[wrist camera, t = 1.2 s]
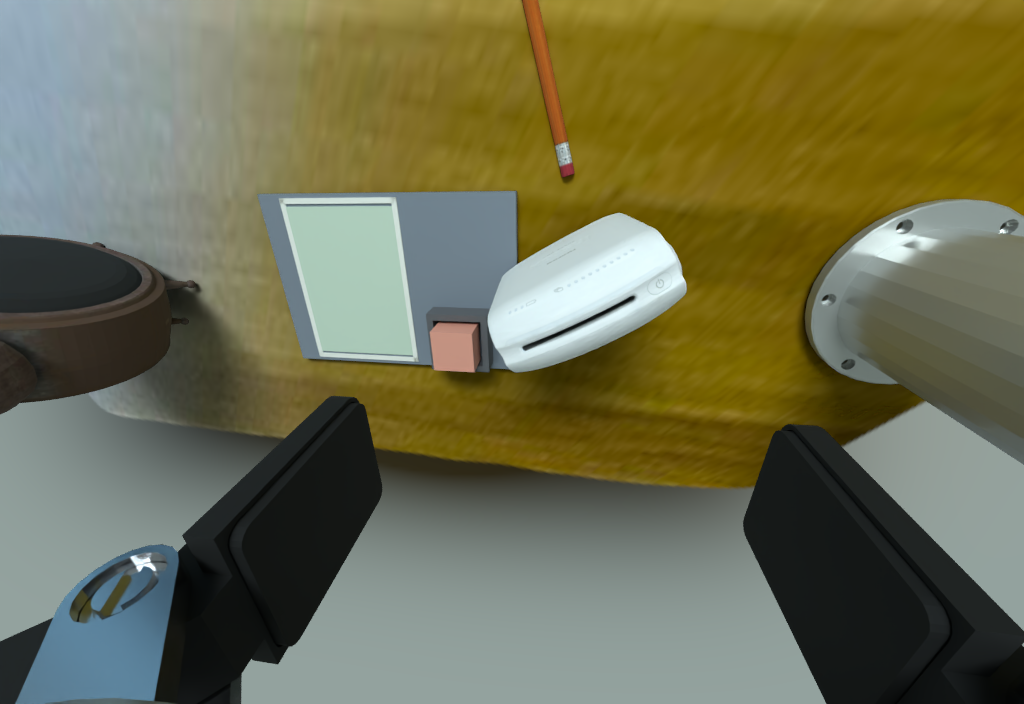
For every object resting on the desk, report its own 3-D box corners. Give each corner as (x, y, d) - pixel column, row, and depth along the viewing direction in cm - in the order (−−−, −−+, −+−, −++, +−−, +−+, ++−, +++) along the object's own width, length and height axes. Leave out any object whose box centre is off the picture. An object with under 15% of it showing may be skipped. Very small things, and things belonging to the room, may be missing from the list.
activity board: (516, 191, 27) (512, 192, 25) (518, 366, 33) (514, 380, 31) (262, 194, 29) (238, 195, 27) (307, 355, 35) (290, 367, 33)
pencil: (562, 177, 26) (561, 177, 26) (474, -213, 19) (470, -229, 18) (574, 173, 26) (574, 173, 25) (490, -224, 19) (486, -241, 18)
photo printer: (623, 200, 26) (683, 222, 15) (646, 256, 27) (716, 314, 16) (494, 271, 29) (464, 334, 18) (521, 318, 30) (509, 404, 19)
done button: (478, 322, 30) (471, 333, 28) (480, 359, 31) (474, 372, 29) (439, 321, 30) (429, 332, 28) (442, 357, 31) (434, 369, 29)
